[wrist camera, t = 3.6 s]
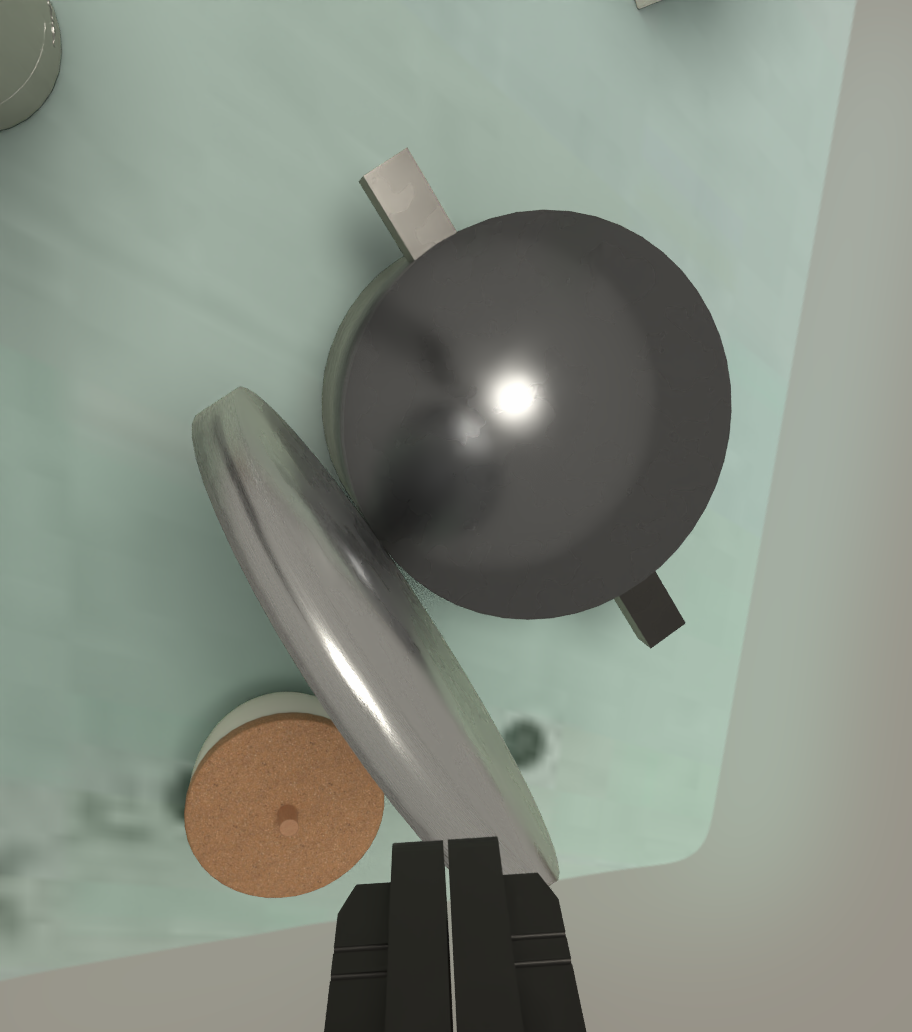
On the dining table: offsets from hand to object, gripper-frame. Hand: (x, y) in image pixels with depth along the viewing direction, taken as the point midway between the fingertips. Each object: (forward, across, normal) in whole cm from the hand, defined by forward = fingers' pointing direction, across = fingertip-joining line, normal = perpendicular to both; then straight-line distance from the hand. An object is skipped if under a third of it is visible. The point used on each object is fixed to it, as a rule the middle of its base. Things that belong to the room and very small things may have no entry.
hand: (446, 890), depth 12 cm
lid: (+19, +1, +5) cm, 20 cm away
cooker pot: (+42, -4, +2) cm, 42 cm away
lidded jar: (+38, +10, +22) cm, 44 cm away
